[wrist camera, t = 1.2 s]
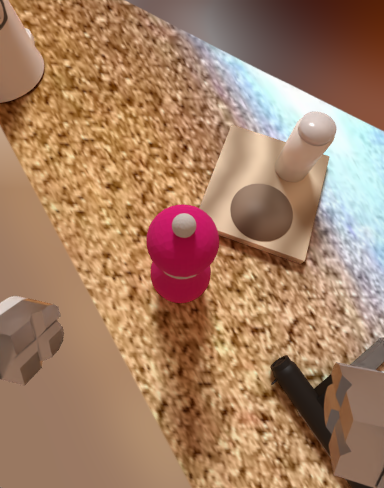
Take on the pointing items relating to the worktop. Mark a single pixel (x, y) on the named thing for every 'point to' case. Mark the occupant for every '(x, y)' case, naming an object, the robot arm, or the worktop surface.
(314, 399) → the door handle
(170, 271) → the pepper mill
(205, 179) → the worktop surface
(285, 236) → the condiment board
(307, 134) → the salt shaker
